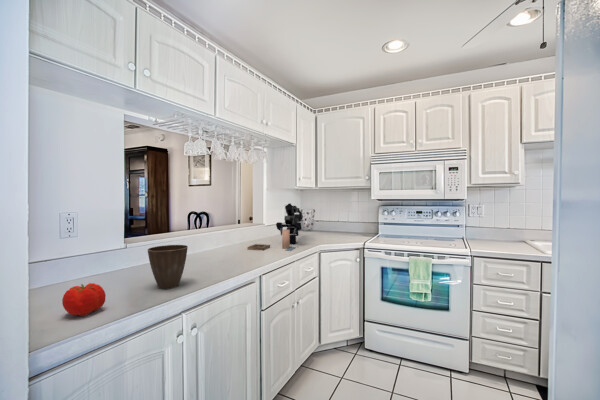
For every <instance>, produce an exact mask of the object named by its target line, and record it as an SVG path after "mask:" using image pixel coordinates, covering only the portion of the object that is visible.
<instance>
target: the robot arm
mask: <svg viewBox="0 0 600 400" xmlns="http://www.w3.org/2000/svg"><path fill="white" fill-rule="evenodd" d="M284 209H285V213H286V215H284V223H282V222H280V221H279V222H276V224H275V226H276V229H277V230H278V231H279V232H280V236H282V230H284V229H283V228H286V229H285V230H290V244H291V245H295V244H298V242H297V237H298V236H299V231H302V228H303V226H302V221H303V212H302V211H301V209H300V208H299V207H297V206H296V205H292V203H288V204H286V205H285V206H284Z"/></svg>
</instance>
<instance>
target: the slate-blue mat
mask: <svg viewBox="0 0 600 400" xmlns="http://www.w3.org/2000/svg"><path fill="white" fill-rule="evenodd" d="M295 249H296V247H295V246H291V247H290V248H289V249H284V251H285V252H286V251H289V252H291V251H293V250H295Z"/></svg>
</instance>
